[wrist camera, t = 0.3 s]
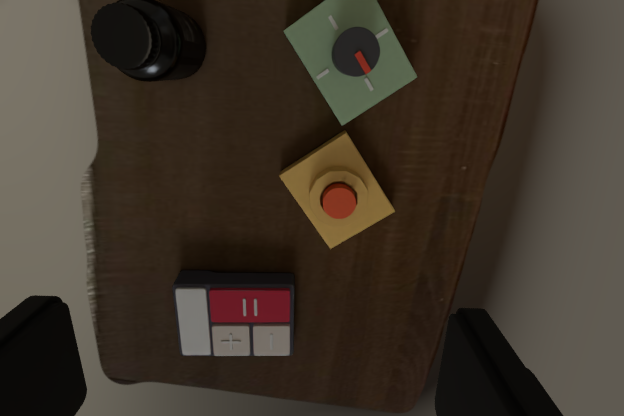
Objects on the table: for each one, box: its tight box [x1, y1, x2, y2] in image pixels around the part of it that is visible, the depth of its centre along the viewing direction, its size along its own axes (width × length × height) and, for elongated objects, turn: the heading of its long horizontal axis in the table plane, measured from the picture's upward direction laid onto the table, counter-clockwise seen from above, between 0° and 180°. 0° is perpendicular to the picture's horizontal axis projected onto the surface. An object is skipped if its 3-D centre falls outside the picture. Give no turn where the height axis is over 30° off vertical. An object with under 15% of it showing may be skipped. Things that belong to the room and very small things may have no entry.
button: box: [323, 183, 356, 219], centre depth 42 cm, size 4×4×2 cm
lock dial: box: [331, 27, 380, 77], centre depth 35 cm, size 4×4×6 cm
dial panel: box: [284, 0, 417, 126], centre depth 39 cm, size 11×9×3 cm
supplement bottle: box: [91, 0, 206, 82], centre depth 35 cm, size 7×7×12 cm
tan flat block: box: [279, 130, 395, 249], centre depth 44 cm, size 11×9×4 cm
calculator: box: [172, 270, 294, 356], centre depth 50 cm, size 11×4×15 cm
